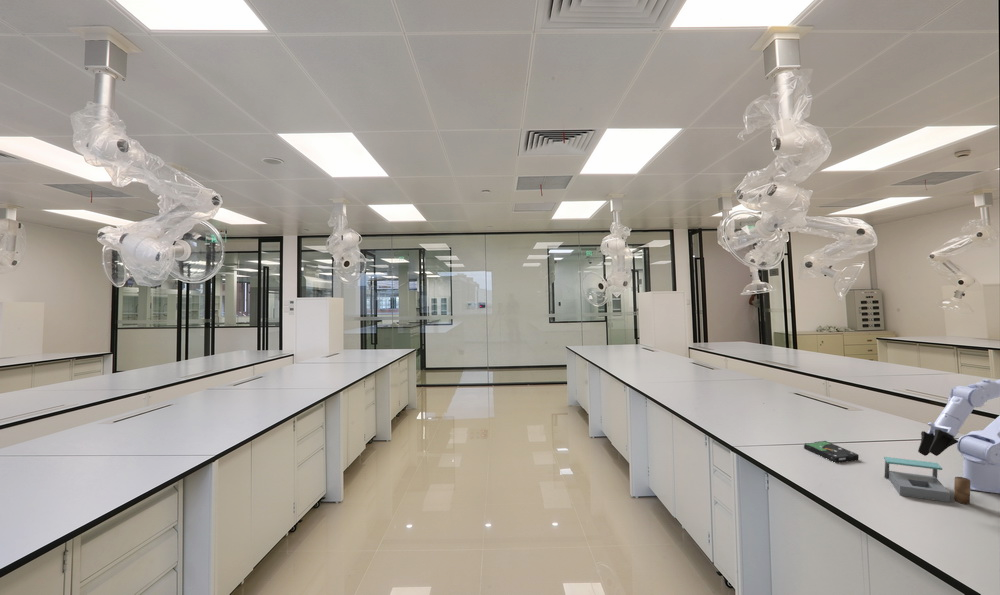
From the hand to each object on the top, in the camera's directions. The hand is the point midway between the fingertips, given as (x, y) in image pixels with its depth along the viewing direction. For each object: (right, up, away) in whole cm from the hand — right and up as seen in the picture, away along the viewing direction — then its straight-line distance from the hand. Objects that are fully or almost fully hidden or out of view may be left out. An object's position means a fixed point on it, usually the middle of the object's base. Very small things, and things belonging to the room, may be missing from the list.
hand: (927, 453), depth 152 cm
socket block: (-1, -13, +3) cm, 13 cm away
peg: (+6, -13, -5) cm, 15 cm away
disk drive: (-8, -12, +33) cm, 36 cm away
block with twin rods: (+2, -12, +8) cm, 15 cm away
